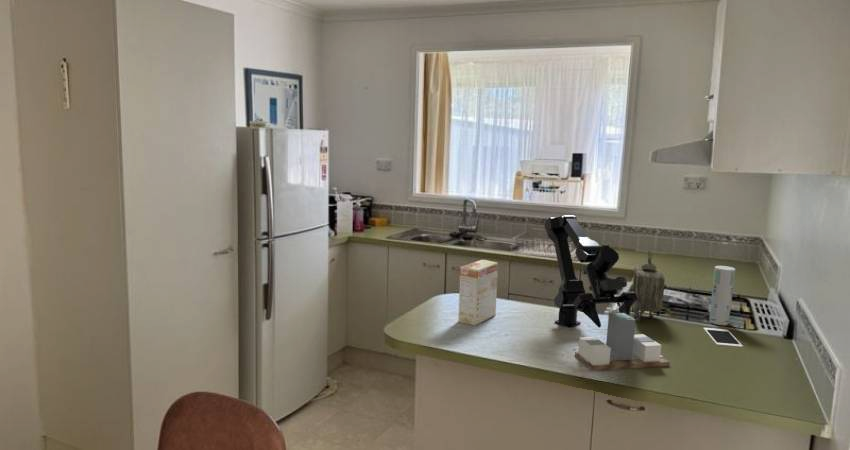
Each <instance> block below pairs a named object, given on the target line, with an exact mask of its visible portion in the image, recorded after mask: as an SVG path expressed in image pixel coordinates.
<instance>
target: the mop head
mask: <svg viewBox="0 0 850 450" xmlns="http://www.w3.org/2000/svg"><path fill="white" fill-rule="evenodd" d="M652 253H653V252H652V250H651V249H649V250H648V255H647V257H648V258H647V262H644V263H643V264H641V266H639V267H638V266H636V267H634V270H633V279H632V280H633V281H632V284H633V285H632V291H631V292H635V293H636V294H637V297H638V300H637V301H636V302H635V303H634V304H633V305H632V306H631V307H632V310H633V312H634V313H639V315H638V317H636V322H641V320H642V319H641V317H642V315H643V314H644V313H645V312H648V313H649V314H648V318H649V319H650V320H653V318H654V314H652V313H658V312H660V311H662V309H663V304H664V303H663V301H664V293H665V291H664V290H665V283H666V282H665V275H664V273H663V272H662V271H660V270H659V269H657V266H656V265H655V263H654V262H652V259H653V254H652Z"/></svg>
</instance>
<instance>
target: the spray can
mask: <svg viewBox="0 0 850 450" xmlns="http://www.w3.org/2000/svg"><path fill="white" fill-rule="evenodd" d="M735 277H736V268H735V267H733V266H728V265H727V266H726V265H715V266H714V272H713V281H712V289H711V290H712V292H711V300H710V308H709V309H710V310H709V317H708V319H709V320H708V321H709V323H711V324H714V325H719V326H727V325H729V322H730V315H731V307H732V301H733V291H734V283H735Z"/></svg>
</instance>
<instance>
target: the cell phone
mask: <svg viewBox="0 0 850 450" xmlns="http://www.w3.org/2000/svg"><path fill="white" fill-rule="evenodd" d="M703 329H704V331H705V332H706V333H707V335H708V336H709V337H710V338H711V339H712V341H713V342H714V344H715V345H717V346H718V345H719V346H729V347H736V348H737V347H740V348H743V347H744V345H742V343H741V342H740V341H739V340H738V339H737V338H736V337H735V336H734V335H733V333H731V332H730V330H728V329H726V328H724V329H723V328H713V327H711V328H710V327H703Z"/></svg>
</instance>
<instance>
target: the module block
mask: <svg viewBox="0 0 850 450" xmlns="http://www.w3.org/2000/svg"><path fill="white" fill-rule="evenodd" d="M636 322H637V321H636V319H635V318H634V317H632V316H631V315H630V316H629V315H627V314H625V313H620V312H617V313H615V312H613V313H608V320H607V329H606V330H607V332H606V343H605V344H606V345H607V346H609V347H610V348H611V351H610V356H611V357H612V358H613V359H615V360H616V361H617V360H632V354H633V343H634V335H635V330H636Z"/></svg>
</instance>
